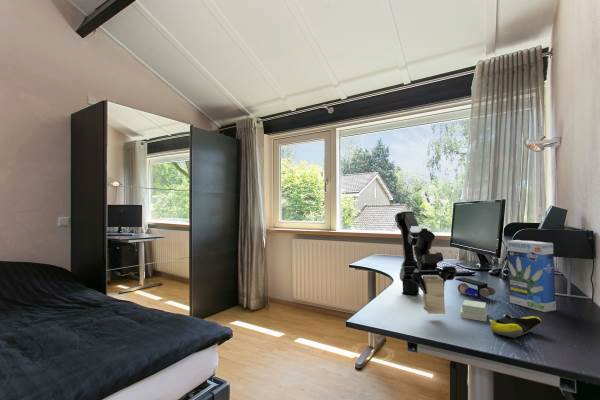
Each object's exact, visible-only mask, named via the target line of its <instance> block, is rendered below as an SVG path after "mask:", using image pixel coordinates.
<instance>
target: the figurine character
mask: <svg viewBox="0 0 600 400" xmlns="http://www.w3.org/2000/svg"><path fill="white" fill-rule="evenodd" d="M454 279H455V281H458V282H461V283H458V286H457V291H458V292H459V293H460V294H461V295H469V296H470V295H471V296H472V297H476V298H478V299H479V300H482V301H486V300H490V298H489V296H494V295H495V294H496V293H497V292H496V288H494V287H492V286H489V285H488V284H489V283H487V282H482V281H479V280H475V279H471V278H468V277H457V278H455V277H454ZM468 284H470V285H473V286H477V288H476V289H475V288H473V287H470V285H468Z"/></svg>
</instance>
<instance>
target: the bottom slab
mask: <svg viewBox="0 0 600 400" xmlns="http://www.w3.org/2000/svg"><path fill="white" fill-rule="evenodd" d="M487 311H488V310H487V308H486V313H485V315H480V314H474V313H468V312H462V307H461V309H460V311H459V312H460V313H459V314H460V315H459V317H460V318H463V319H467V320H475V321H481V322H487V318H488V317H487V316H488V314H487Z"/></svg>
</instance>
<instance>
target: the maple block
mask: <svg viewBox="0 0 600 400" xmlns="http://www.w3.org/2000/svg"><path fill="white" fill-rule="evenodd" d="M422 279H423V282H424V285H425V287H426V291H427V294H425V293H424V292H423V291H422V297H423V300H422V301H423V309H424V311H426V313H428V315H429V314H431V315H432V314H433V315H446V309H445V308H446V307H445V284H444V281H443V279H442V278H440V277H439V276H422Z"/></svg>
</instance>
